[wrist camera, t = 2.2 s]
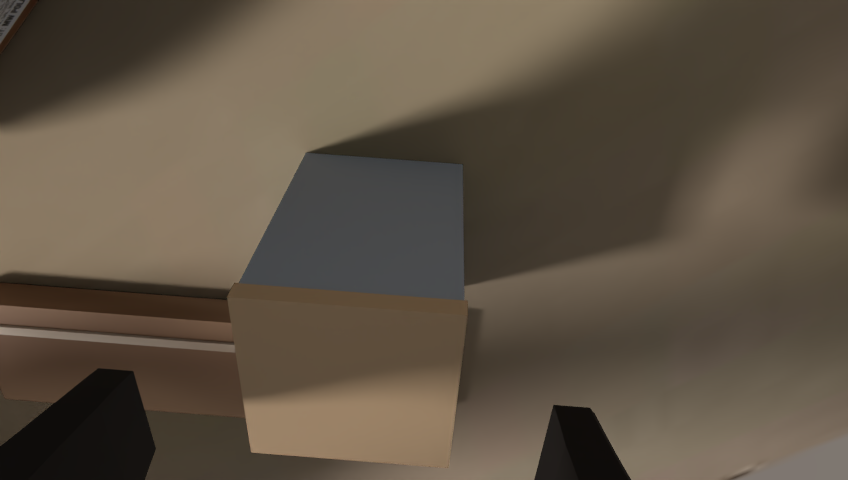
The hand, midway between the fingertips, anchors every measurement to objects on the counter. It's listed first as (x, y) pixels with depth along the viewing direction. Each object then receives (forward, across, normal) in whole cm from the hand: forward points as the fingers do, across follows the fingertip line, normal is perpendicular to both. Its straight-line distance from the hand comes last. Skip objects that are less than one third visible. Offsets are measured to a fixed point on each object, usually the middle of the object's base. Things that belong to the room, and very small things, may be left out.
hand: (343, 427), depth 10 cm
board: (+7, +5, +5) cm, 10 cm away
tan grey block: (+7, 0, 0) cm, 7 cm away
